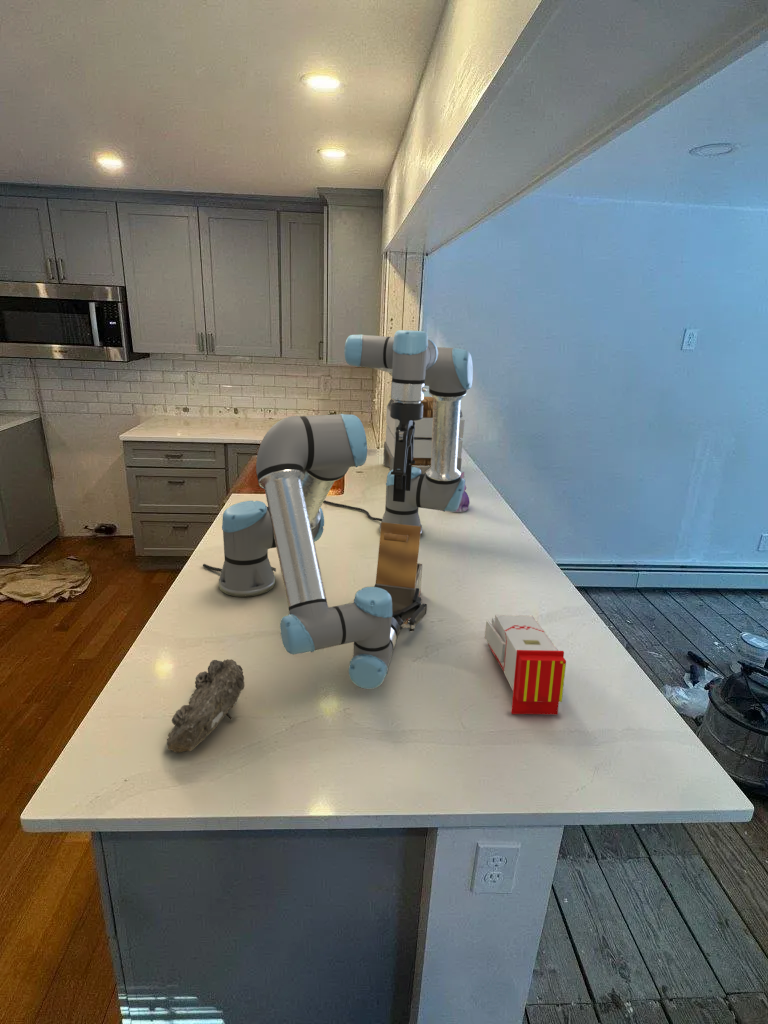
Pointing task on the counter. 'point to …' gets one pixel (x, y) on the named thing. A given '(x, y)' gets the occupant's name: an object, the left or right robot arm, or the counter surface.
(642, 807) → the counter surface
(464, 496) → the figurine
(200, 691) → the fossil
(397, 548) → the lid
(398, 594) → the chest
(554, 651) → the toy
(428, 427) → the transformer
